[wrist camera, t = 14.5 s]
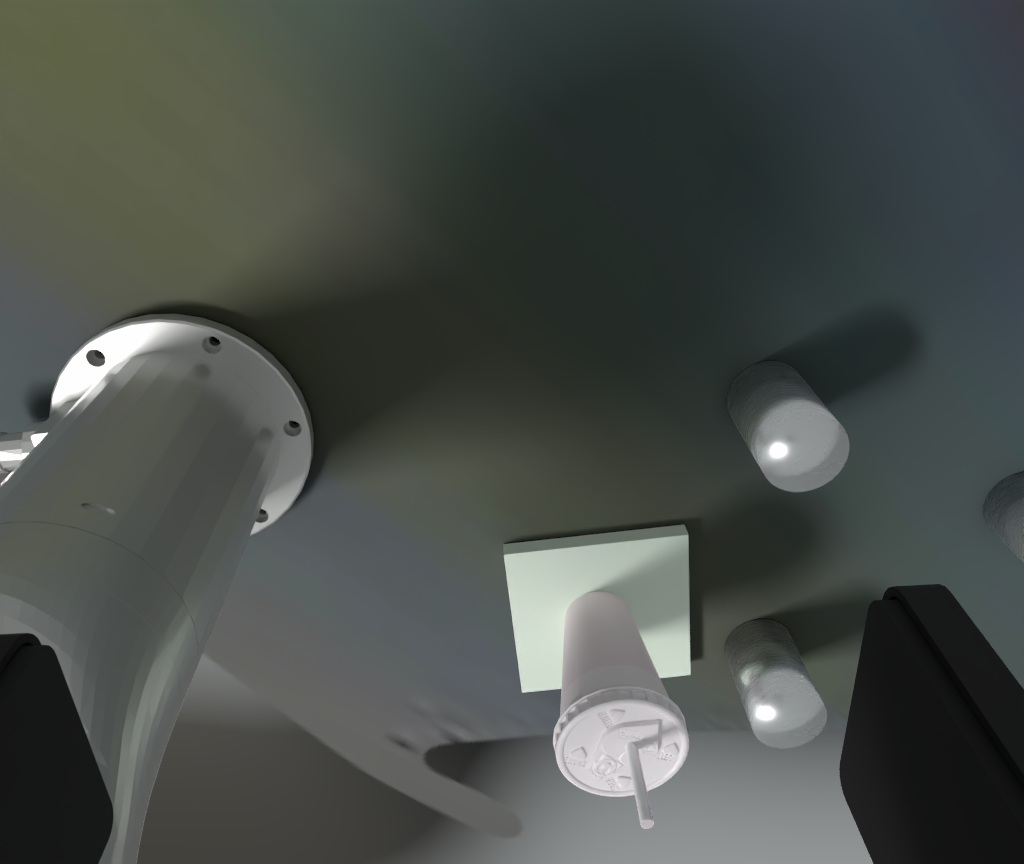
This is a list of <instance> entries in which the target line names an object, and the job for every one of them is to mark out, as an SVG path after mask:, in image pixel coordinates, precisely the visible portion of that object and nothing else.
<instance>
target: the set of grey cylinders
mask: <svg viewBox="0 0 1024 864" xmlns="http://www.w3.org/2000/svg"><path fill="white" fill-rule="evenodd" d="M726 402H727V410H728V413H729V415H730V417H731V419H732V420H733V422H734V424H735V425H736V427H737V429H738V431H739V432H740V434H741V436H742V437H743V439H744V441H745V443H746V444H747V446H748V448H749V449H750V451H751V453H752V455H753V456H754V458H755V460H756V462H757V463H758V465H759V467H760V468H761V470H762V472H763V474H764V475H765V477H766V478H767V480H768V481H769V482H770V483H771V484H773V485H774V486H776V487H777V488H780V489H782V490H785V491H790V492H805V491H810V490H814V489H816V488H819V487H821V486H823V485H825V484H826V483H828V482H829V481H831V480H832V479H833V478H834V477H835V476H836V475H837V474H838V473H839V472H840V471H841V469H842V468H843V466H844V465H845V463H846V460H847V458H848V454H849V439H848V436H847V433H846V431H845V430H844V428H843V427H842V426H841V424H840V423H839V422H838V421H837V419H836V418H835V417H834V416H833V415H832V413H831V412H830V411H829V410H828V408H827V407H826V406H825V405H824V404H823V402H822V401H821V400H820V399H819V397H818V396H817V395H816V394H815V393H814V391H813V390H812V389H811V388H810V386H809V385H808V384H807V383H806V382H805V380H804V379H803V378H802V377H801V375H800V374H799V373H798V372H797V371H796V370H795V369H794V368H793V367H791V366H789V365H788V364H785V363H782V362H778V361H766V362H760V363H757V364H754V365H752V366H750V367H748V368H747V369H745V370H744V371H742V372H741V373H740V374H739V375H738V376H737V377H736V378H735V380H734V381H733V382H732V384H731V386H730V388H729V391H728V394H727V401H726ZM983 516H984V519H985V522H986V523H987V525H988V526H989V527H990V528H991V529H992V530H993V531H994V532H995V533H996V534H997V535H998V536H999V537H1000V538H1001V540H1002V541H1003V542H1004V543H1005V544H1006V545H1007V546H1008V547H1009V548H1010V549H1011V550H1012V551H1013V552H1014V553H1015V554H1016V556H1017V557H1018V558H1019V559H1020V560H1021V561H1022V562H1023V563H1024V472H1022V473H1018V474H1015V475H1012V476H1010V477H1008V478H1006V479H1004V480H1003V481H1001V482H1000V483H999V484H997V485H996V486H995V487H994V488H993V489H992V490H991V492H990V493H989V494H988V496H987V498H986V500H985V503H984V506H983ZM724 653H725V656H726V659H727V662H728V664H729V667H730V670H731V673H732V675H733V678H734V681H735V683H736V686H737V689H738V691H739V694H740V697H741V700H742V702H743V705H744V708H745V710H746V713H747V716H748V719H749V721H750V724H751V727H752V729H753V732H754V734H755V736H756V737H757V739H758V740H759V741H761V742H762V743H763V744H765V745H768V746H770V747H774V748H792V747H797V746H800V745H802V744H805V743H807V742H809V741H811V740H812V739H813V738H815V737H816V736H817V735H818V734H819V733H820V732H821V731H822V729H823V728H824V726H825V724H826V721H827V711H826V708H825V706H824V704H823V702H822V700H821V698H820V696H819V693H818V691H817V689H816V687H815V685H814V683H813V681H812V679H811V677H810V675H809V673H808V671H807V668H806V666H805V664H804V662H803V660H802V658H801V656H800V654H799V652H798V650H797V648H796V646H795V643H794V641H793V639H792V637H791V635H790V633H789V631H788V630H787V629H786V627H785V626H783V625H782V624H780V623H779V622H776V621H773V620H768V619H758V620H753V621H749V622H746V623H744V624H742V625H740V626H739V627H737V628H736V629H735V630H734V631H733V632H732V633H731V634H730V635H729V636H728V638H727V640H726V642H725V646H724Z"/></svg>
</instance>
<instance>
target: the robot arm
mask: <svg viewBox="0 0 1024 864" xmlns="http://www.w3.org/2000/svg"><path fill="white" fill-rule="evenodd" d="M212 337H215V338H217V339H218V340H219V341H220V342H219V343H217V342H215V341H213V340H212ZM98 350H99V351H100V352H102V353H103V355H102V354H100V353H99V351H98ZM291 421H296V422H297V423H299V424H293V423H292V422H291ZM313 445H314V433H313V427H312V422H311V416H310V412H309V410H308V407H307V405H306V402H305V400H304V397H303V395H302V392H301V391H300V389H299V388H298V386H297V385H296V383H295V381H294V380H293V378H292V377H291V375H290V374H289V372H288V371H287V370H286V369H285V368H284V367H283V366H282V365H281V364H280V363H279V361H278V360H277V359H276V358H275V357H274V356H273V355H272V354H271V353H270V352H268V351H267V350H266V349H264V348H263V347H262V346H260V345H259V344H258V343H256V342H255V341H254V340H252V339H251V338H249V337H247V336H245V335H244V334H242V333H240V332H238V331H236V330H234V329H232V328H230V327H228V326H226V325H223V324H220V323H217V322H214V321H211V320H208V319H205V318H201V317H195V316H188V315H182V314H149V315H144V316H139V317H135V318H130V319H126V320H123V321H121V322H119V323H116V324H114V325H112V326H109V327H107V328H105V329H103V330H102V331H100V332H99V333H98V334H96V335H95V336H93V337H92V338H91V339H89V340H88V341H87V342H85V343H84V344H83V345H82V346H81V347H80V348H79V349H78V350H77V351H76V352H75V353H74V354H73V355H72V356H71V357H70V359H69V360H68V362H67V363H66V365H65V366H64V368H63V369H62V371H61V372H60V374H59V376H58V379H57V381H56V384H55V387H54V390H53V392H52V396H51V405H50V414H49V418H48V419H47V420H46V421H42V422H33V423H31V424H29V425H27V426H26V428H25V430H24V431H23V432H16V433H7V432H1V433H0V473H7V472H10V471H12V470H13V471H12V472H11V473H10V474H9V475H8V476H7V477H6V478H5V479H4V480H3V481H2V483H1V484H0V864H136V862H137V855H138V850H139V845H140V839H141V834H142V829H143V824H144V819H145V815H146V811H147V807H148V803H149V799H150V795H151V791H152V788H153V785H154V782H155V779H156V776H157V772H158V769H159V766H160V763H161V760H162V757H163V753H164V751H165V748H166V745H167V743H168V740H169V737H170V735H171V732H172V729H173V727H174V724H175V721H176V718H177V716H178V713H179V711H180V708H181V706H182V703H183V701H184V698H185V696H186V693H187V691H188V688H189V685H190V683H191V680H192V678H193V675H194V673H195V670H196V668H197V665H198V663H199V660H200V658H201V655H202V653H203V650H204V648H205V645H206V643H207V640H208V638H209V636H210V633H211V631H212V628H213V626H214V623H215V621H216V618H217V616H218V613H219V611H220V608H221V606H222V603H223V601H224V598H225V596H226V593H227V591H228V588H229V586H230V583H231V581H232V578H233V576H234V574H235V571H236V569H237V566H238V564H239V561H240V559H241V556H242V554H243V551H244V549H245V546H246V544H247V541H248V539H249V536H251V535H253V534H256V533H258V532H260V531H261V530H263V529H265V528H266V527H268V526H269V525H271V524H273V523H274V522H276V521H277V520H278V519H279V518H280V517H281V516H282V515H283V514H284V513H285V512H286V511H287V510H288V509H289V508H290V507H291V506H292V504H293V503H294V501H295V500H296V498H297V497H298V495H299V494H300V493H301V491H302V488H303V486H304V483H305V481H306V478H307V476H308V473H309V469H310V465H311V461H312V458H313ZM840 780H841V786H842V790H843V794H844V796H845V799H846V801H847V804H848V806H849V808H850V810H851V813H852V815H853V818H854V820H855V822H856V824H857V827H858V829H859V831H860V834H861V836H862V838H863V840H864V843H865V845H866V847H867V850H868V852H869V854H870V857H871V859H872V861H873V863H874V864H1024V689H1023V688H1022V687H1021V685H1020V684H1019V683H1018V681H1017V680H1016V679H1015V677H1014V676H1013V675H1012V673H1011V672H1010V671H1009V669H1008V668H1007V667H1006V665H1005V664H1004V663H1003V661H1002V660H1001V659H1000V657H999V656H998V655H997V653H996V652H995V651H994V649H993V648H992V647H991V645H990V644H989V643H988V641H987V640H986V639H985V637H984V636H983V635H982V633H981V632H980V631H979V629H978V628H977V627H976V625H975V624H974V623H973V621H972V620H971V619H970V617H969V616H968V615H967V613H966V612H965V611H964V609H963V608H962V607H961V605H960V604H959V603H958V601H957V600H956V599H955V597H954V596H953V595H952V593H951V592H950V591H949V590H948V589H947V588H946V587H945V586H943V585H940V584H933V585H914V586H896V587H890V588H888V589H887V590H886V592H885V593H884V596H883V599H882V600H876V601H872V603H871V604H870V606H869V609H868V614H867V619H866V625H865V630H864V635H863V641H862V646H861V652H860V657H859V663H858V668H857V673H856V679H855V684H854V690H853V695H852V701H851V706H850V711H849V717H848V722H847V728H846V734H845V739H844V744H843V750H842V755H841V760H840Z"/></svg>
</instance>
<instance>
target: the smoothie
mask: <svg viewBox="0 0 1024 864" xmlns="http://www.w3.org/2000/svg"><path fill="white" fill-rule="evenodd" d="M553 745H554V749H555V752H556V760H557V763H558V766H559V768H560V770H561V772H562V773H563V775H564V776H565V777H566V778H567V779H568V780H569V781H570V782H571V783H572V784H574V785H575V786H577V787H579V788H581V789H583V790H585V791H587V792H591V793H593V794H598V795H602V796H611V797H619V796H630V795H635V798H636V803H637V808H638V813H639V818H640V823H641V827H643V828H646V829H647V828H651V827H652V826H653V825H654V822H653V817H652V812H651V808H650V803H649V798H648V794H647V791H649V790H651V789H653V788H656V787H658V786H660V785H661V784H663V783H664V782H666V781H667V780H669V779H670V778H671V777H672V776H673V775H674V774H675V773H676V772H677V771H678V770H679V769H680V768H681V766H682V765H683V763H684V761H685V759H686V757H687V754H688V750H689V737H688V733H687V729H686V723H685V718H684V716H683V714H682V712H681V711H680V709H679V707H678V706H677V705H676V704H675V703H674V702H673V701H671V700H670V699H669V697H668V695H667V692H666V690H665V688H664V686H663V684H662V682H661V680H660V677H659V675H658V673H657V671H656V668H655V666H654V664H653V662H652V660H651V657H650V655H649V653H648V651H647V648H646V646H645V644H644V642H643V640H642V637H641V635H640V633H639V631H638V628H637V626H636V624H635V622H634V620H633V617H632V615H631V613H630V611H629V608H628V606H627V605H626V603H625V602H624V601H623V600H622V599H621V598H620V597H618V596H617V595H615V594H612V593H609V592H603V591H597V592H590V593H587V594H584V595H582V596H580V597H578V598H577V599H575V600H574V601H573V602H572V603H571V604H570V605H569V607H568V608H567V610H566V613H565V621H564V644H563V667H562V690H561V707H560V718H559V720H558V722H557V724H556V726H555V728H554V736H553Z"/></svg>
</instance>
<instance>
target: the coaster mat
mask: <svg viewBox="0 0 1024 864" xmlns="http://www.w3.org/2000/svg"><path fill="white" fill-rule="evenodd" d="M503 549H504V560H505V568H506V575H507V583H508V590H509V598H510V605H511V613H512V620H513V628H514V635H515V643H516V650H517V658H518V665H519V673H520V680H521V688H522V693H524V692H534V691H543V690H552V689H562V667H563V644H564V621H565V613H566V610H567V608H568V607H569V605H570V604H571V603H572V602H573V601H574V600H575V599H577V598H578V597H580V596H582V595H584V594H587V593H590V592H597V591H603V592H609V593H612V594H615V595H617V596H618V597H620V598H621V599H622V600H623V601H624V602H625V603H626V605H627V606H628V608H629V611H630V613H631V615H632V617H633V620H634V622H635V624H636V626H637V628H638V631H639V633H640V635H641V637H642V640H643V642H644V644H645V646H646V648H647V651H648V653H649V655H650V657H651V660H652V662H653V664H654V666H655V668H656V671H657V673H658V675H659V677H660V678H665V677H675V676H684V675H690V611H689V542H688V532H687V530H686V527H685V525H675V526H666V527H657V528H647V529H638V530H629V531H620V532H611V533H601V534H592V535H583V536H574V537H565V538H555V539H546V540H537V541H528V542H519V543H509V544H503Z"/></svg>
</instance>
